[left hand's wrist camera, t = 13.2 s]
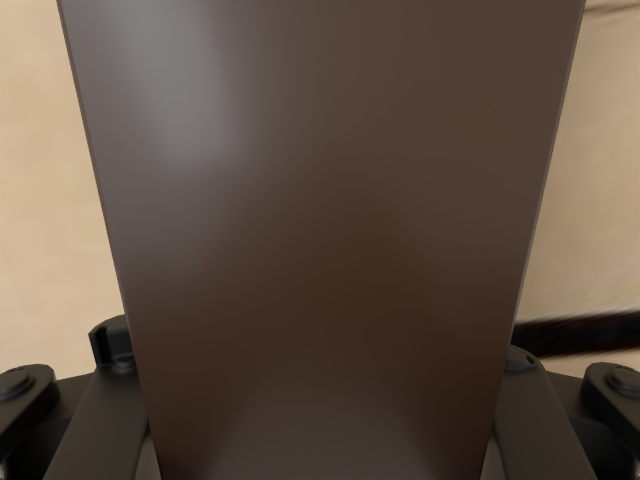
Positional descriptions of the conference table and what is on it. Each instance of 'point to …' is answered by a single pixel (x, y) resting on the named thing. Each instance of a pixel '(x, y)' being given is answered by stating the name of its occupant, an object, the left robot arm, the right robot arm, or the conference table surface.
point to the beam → (320, 220)
